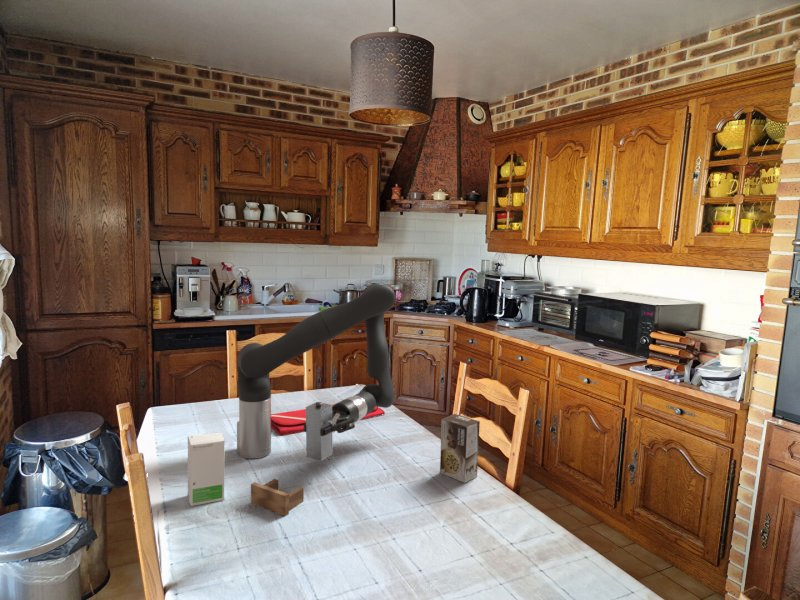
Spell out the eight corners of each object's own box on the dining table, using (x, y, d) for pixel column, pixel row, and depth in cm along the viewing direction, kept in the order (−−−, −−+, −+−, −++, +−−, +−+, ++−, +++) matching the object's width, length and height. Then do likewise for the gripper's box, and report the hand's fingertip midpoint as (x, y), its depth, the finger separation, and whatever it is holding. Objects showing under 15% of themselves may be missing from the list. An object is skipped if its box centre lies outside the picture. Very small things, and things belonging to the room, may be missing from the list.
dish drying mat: (385, 416, 193) (385, 406, 192) (281, 438, 169) (281, 427, 169) (363, 404, 205) (364, 395, 205) (264, 423, 182) (264, 412, 182)
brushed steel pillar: (306, 456, 140) (305, 404, 138) (318, 449, 144) (317, 399, 142) (321, 460, 138) (320, 407, 135) (332, 453, 142) (332, 402, 140)
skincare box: (189, 507, 125) (188, 445, 123) (187, 494, 131) (185, 435, 129) (226, 499, 129) (225, 440, 127) (221, 488, 134) (221, 430, 132)
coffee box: (478, 476, 145) (481, 421, 143) (464, 483, 141) (467, 427, 139) (452, 465, 152) (454, 412, 150) (438, 472, 147) (440, 418, 145)
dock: (251, 503, 127) (250, 484, 127) (272, 490, 134) (272, 472, 133) (285, 516, 122) (285, 496, 121) (305, 502, 129) (306, 483, 128)
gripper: (329, 394, 155) (291, 412, 140) (369, 403, 148) (334, 422, 133) (329, 418, 156) (292, 438, 141) (369, 428, 149) (335, 449, 135)
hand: (313, 430), depth 138 cm, fingers closed on brushed steel pillar, 5 cm apart
